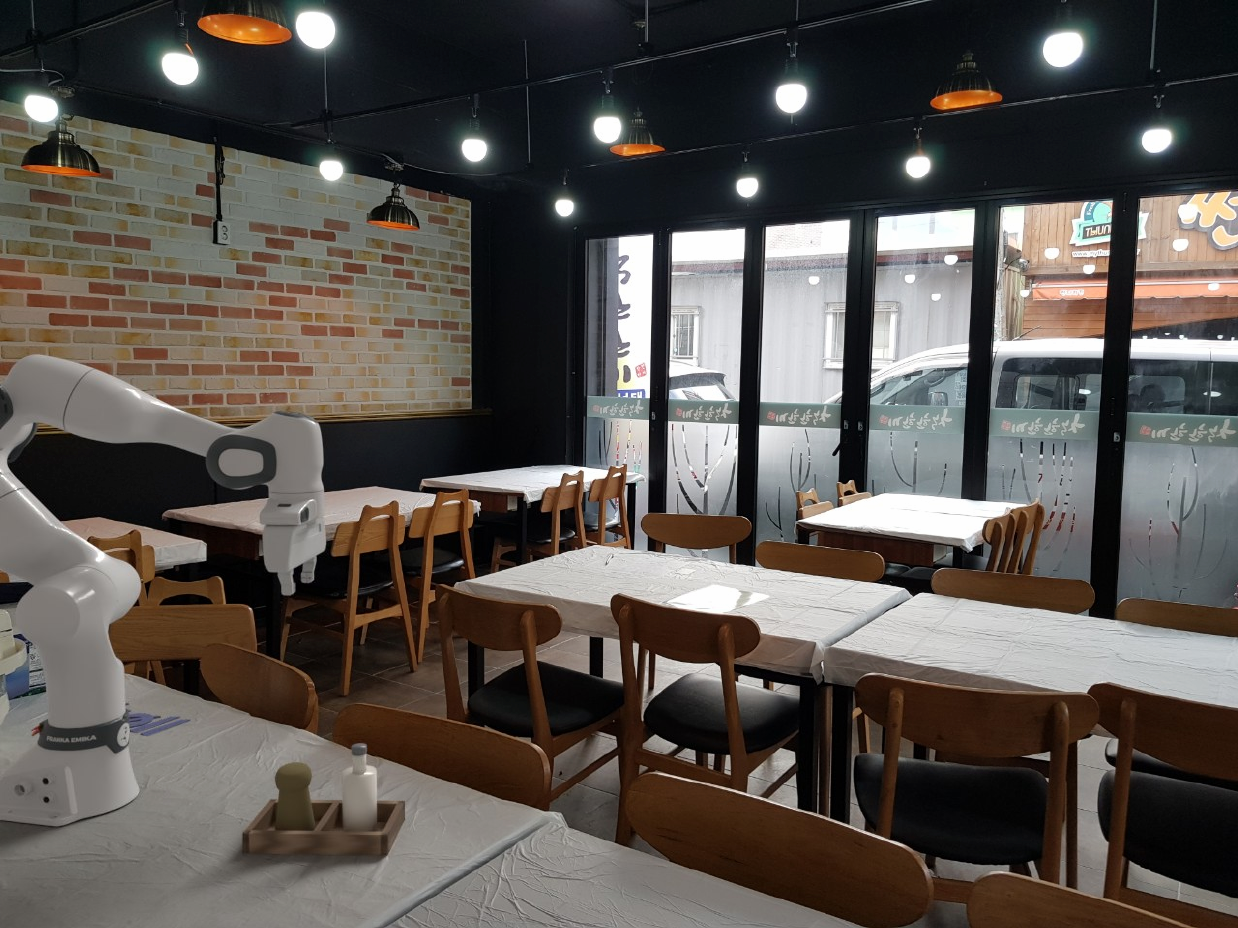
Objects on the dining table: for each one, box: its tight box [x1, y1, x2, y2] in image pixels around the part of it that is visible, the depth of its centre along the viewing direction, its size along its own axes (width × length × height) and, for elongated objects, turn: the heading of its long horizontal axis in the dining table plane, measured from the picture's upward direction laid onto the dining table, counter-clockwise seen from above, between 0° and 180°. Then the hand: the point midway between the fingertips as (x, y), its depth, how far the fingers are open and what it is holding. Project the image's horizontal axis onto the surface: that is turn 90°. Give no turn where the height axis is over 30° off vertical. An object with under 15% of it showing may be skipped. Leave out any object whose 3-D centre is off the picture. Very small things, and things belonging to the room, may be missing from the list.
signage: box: [125, 702, 191, 737], centre depth 190 cm, size 28×1×10 cm
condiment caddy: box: [241, 798, 406, 856], centre depth 139 cm, size 21×11×4 cm, turn 90°
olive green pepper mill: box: [274, 761, 316, 831], centre depth 138 cm, size 6×6×11 cm
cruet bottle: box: [341, 742, 378, 832], centre depth 138 cm, size 5×5×14 cm
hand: (298, 588), depth 157 cm, fingers open, 8 cm apart
